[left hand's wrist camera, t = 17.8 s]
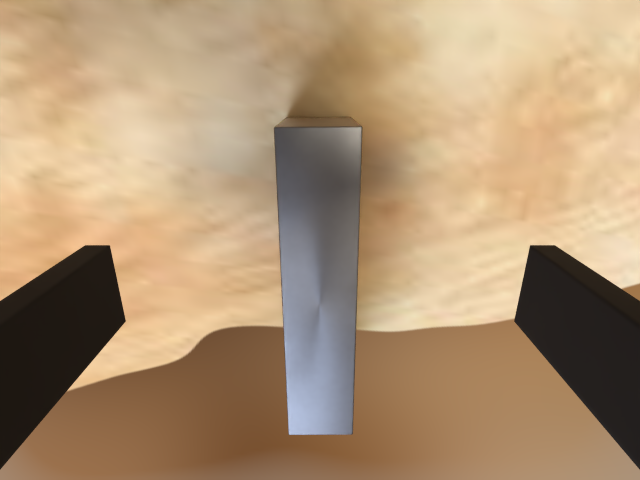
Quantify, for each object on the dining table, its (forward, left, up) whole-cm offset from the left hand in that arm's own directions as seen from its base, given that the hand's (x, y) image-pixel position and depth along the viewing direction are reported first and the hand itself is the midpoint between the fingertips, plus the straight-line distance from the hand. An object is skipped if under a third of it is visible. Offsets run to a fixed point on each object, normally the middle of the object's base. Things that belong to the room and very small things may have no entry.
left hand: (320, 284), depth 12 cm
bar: (+9, -3, -23) cm, 25 cm away
